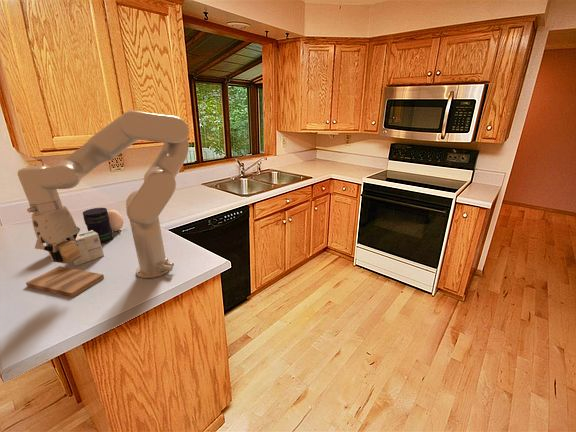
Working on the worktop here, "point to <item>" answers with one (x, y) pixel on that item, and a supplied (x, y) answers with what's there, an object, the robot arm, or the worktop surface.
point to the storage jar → (99, 223)
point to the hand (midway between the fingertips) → (66, 256)
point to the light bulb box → (88, 247)
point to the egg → (115, 220)
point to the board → (65, 281)
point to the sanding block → (67, 251)
